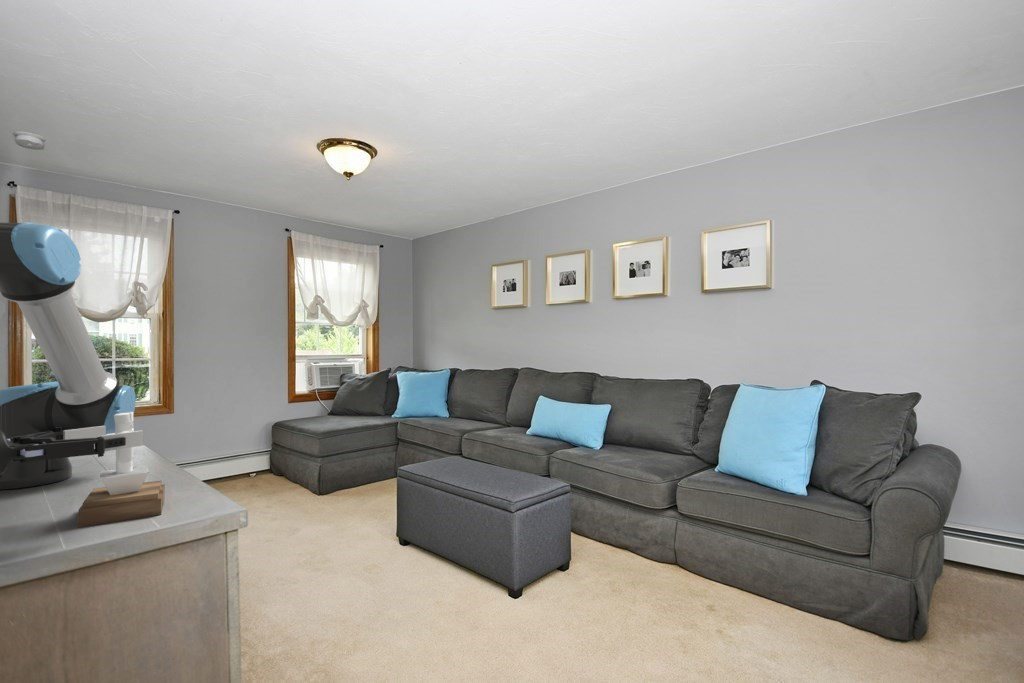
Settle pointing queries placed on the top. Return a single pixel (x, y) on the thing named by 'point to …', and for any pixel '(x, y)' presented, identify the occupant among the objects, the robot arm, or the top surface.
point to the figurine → (124, 463)
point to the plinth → (122, 504)
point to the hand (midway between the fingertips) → (123, 435)
